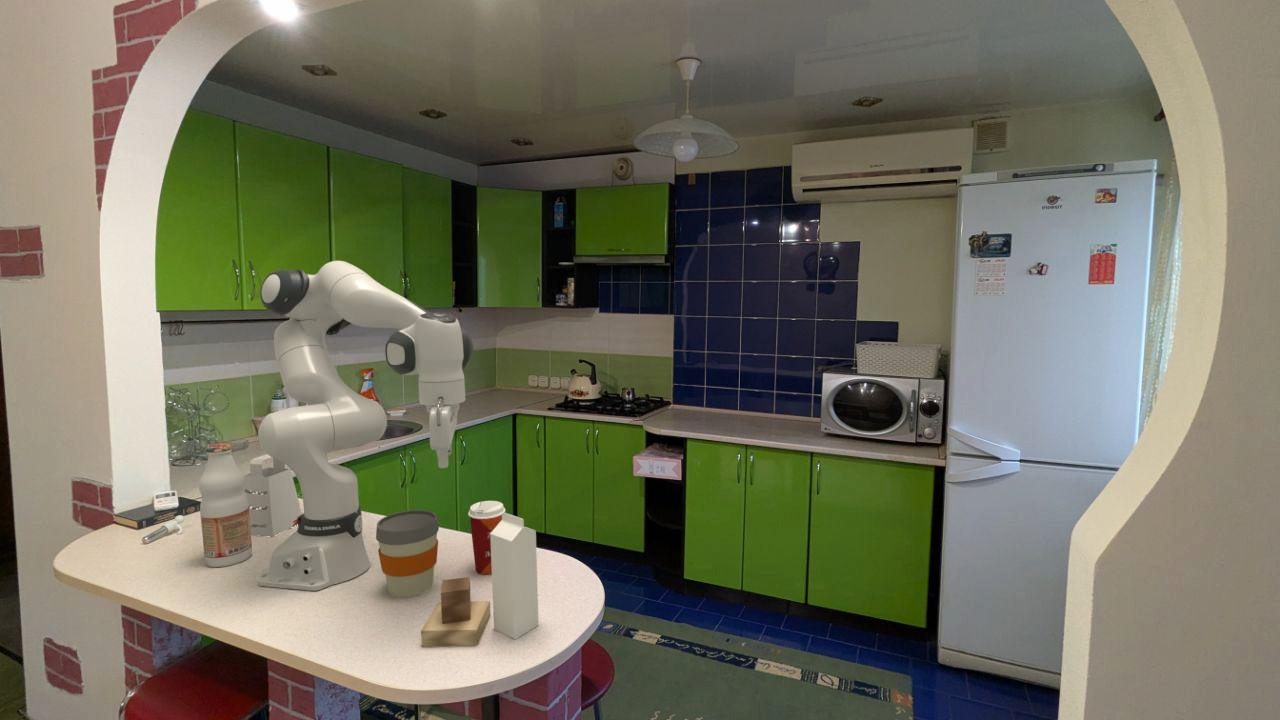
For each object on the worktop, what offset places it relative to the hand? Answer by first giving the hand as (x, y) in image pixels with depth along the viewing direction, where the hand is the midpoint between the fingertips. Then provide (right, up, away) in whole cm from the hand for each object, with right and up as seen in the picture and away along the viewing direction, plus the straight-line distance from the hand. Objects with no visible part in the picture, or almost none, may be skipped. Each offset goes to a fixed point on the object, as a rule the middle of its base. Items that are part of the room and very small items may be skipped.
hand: (445, 460), depth 121 cm
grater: (-60, -26, +40) cm, 77 cm away
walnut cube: (+5, -27, -10) cm, 30 cm away
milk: (+16, -30, -9) cm, 36 cm away
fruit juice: (-59, -28, +21) cm, 69 cm away
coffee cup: (+5, -28, +15) cm, 32 cm away
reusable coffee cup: (-10, -29, +7) cm, 31 cm away
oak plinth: (+5, -30, -10) cm, 32 cm away
